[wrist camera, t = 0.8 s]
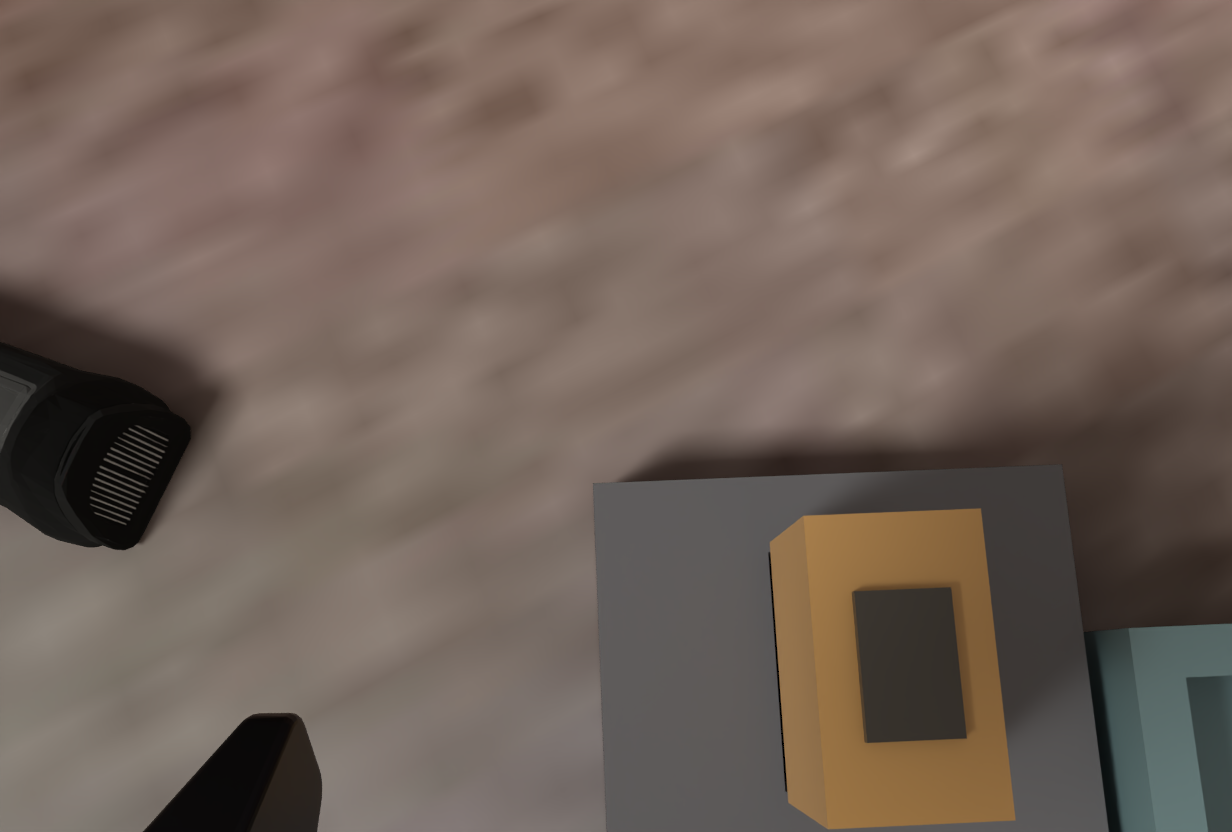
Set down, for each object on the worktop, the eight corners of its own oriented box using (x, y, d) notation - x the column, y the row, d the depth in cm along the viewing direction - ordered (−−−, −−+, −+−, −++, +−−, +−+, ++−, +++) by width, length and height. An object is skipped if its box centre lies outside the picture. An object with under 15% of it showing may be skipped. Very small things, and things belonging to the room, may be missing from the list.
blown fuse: (903, 782, 25) (1020, 821, 18) (766, 788, 25) (830, 831, 18) (882, 551, 27) (984, 507, 20) (750, 557, 26) (805, 514, 19)
